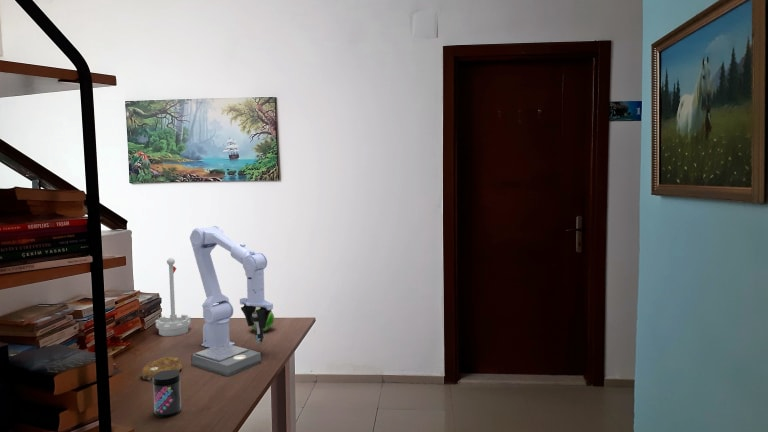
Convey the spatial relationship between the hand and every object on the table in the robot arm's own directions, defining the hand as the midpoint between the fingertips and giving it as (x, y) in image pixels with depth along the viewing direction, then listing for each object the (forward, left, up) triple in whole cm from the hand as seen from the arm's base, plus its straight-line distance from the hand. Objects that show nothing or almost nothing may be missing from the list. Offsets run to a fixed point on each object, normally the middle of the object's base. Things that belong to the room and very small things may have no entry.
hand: (256, 327), depth 184 cm
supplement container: (+13, -44, -10) cm, 47 cm away
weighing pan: (-4, -12, -7) cm, 14 cm away
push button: (+1, +1, -5) cm, 5 cm away
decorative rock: (-13, -28, -10) cm, 33 cm away
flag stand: (-48, 0, -10) cm, 49 cm away
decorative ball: (-19, +20, -10) cm, 29 cm away
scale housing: (-2, -12, -10) cm, 16 cm away
